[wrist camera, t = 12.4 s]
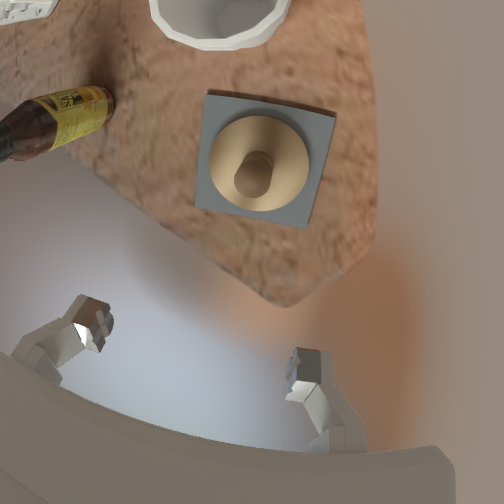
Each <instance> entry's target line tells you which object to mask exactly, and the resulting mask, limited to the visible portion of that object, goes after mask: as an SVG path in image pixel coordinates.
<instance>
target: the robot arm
mask: <svg viewBox="0 0 504 504" xmlns="http://www.w3.org/2000/svg"><path fill="white" fill-rule="evenodd" d="M58 1H59V0H0V25H7V24H11V23H16V22H21V21H26V20H31V19H38V18H44V17H47V16H49V15H50V14H51V12H52V11H53V9H54V8H55V6H56V4H57V3H58ZM110 309H111V308H110V305H109V304H108V303H105V302H102V301H99V300H96V299H94V298H91V297H88V296H85V295H82V294H80V295H79V296H77V298H76V299H75V301H74V302H73V303H72V305H71V306H70V308H69V309H68V310H67V312H66V313H65V315H64V316H63V318H58V319H56V320H54V321H52V322H50V323H48V324H46V325H44V326H42V327H41V328H38V329H36V330H35V331H33V332H31V333H29V334H27V335H25V336H23V337H22V339H21V340H20V342H19V343H18V345H17V346H16V348H15V349H14V351H13V353H12V354H11V356H9V355H8V354H6V353H5V352H3V351H2V350H0V504H455V502H456V484H455V471H454V466H453V464H452V463H451V461H450V460H449V459H448V458H447V456H446V455H445V454H444V453H443V452H442V451H441V450H440V449H439V448H438V447H437V446H434V445H430V446H423V447H416V448H409V449H401V450H392V451H381V452H367V449H366V448H367V447H366V430H365V424H364V423H363V421H362V420H361V419H360V417H359V416H358V414H357V413H356V412H355V410H354V409H353V407H352V406H351V405H350V403H349V402H348V400H347V399H346V398H345V396H344V395H343V393H342V392H341V391H340V389H339V388H338V386H335V385H334V381H333V363H332V354H331V352H327V351H319V350H315V349H306V348H299V347H296V348H295V349H294V351H293V357H290V359H289V362H288V365H287V370H286V379H287V380H288V382H287V384H286V386H285V396H284V400H288V401H296V402H302V403H303V404H304V406H305V408H306V410H307V412H308V414H309V416H310V418H311V420H312V422H313V423H314V425H315V427H316V429H317V431H318V433H319V435H320V436H319V437H317V438H316V439H315V440H313V441H312V442H311V443H310V444H309V449H308V452H292V451H281V450H270V449H263V448H255V447H247V446H242V445H235V444H230V443H225V442H219V441H214V440H210V439H205V438H201V437H197V436H192V435H188V434H184V433H181V432H177V431H173V430H170V429H166V428H163V427H160V426H156V425H153V424H150V423H147V422H144V421H141V420H138V419H135V418H133V417H130V416H127V415H124V414H122V413H119V412H117V411H114V410H112V409H109V408H107V407H104V406H102V405H100V404H97V403H95V402H92V401H90V400H88V399H86V398H84V397H82V396H80V395H77V394H75V393H73V392H71V391H69V390H67V389H65V388H63V387H61V386H59V385H60V383H61V381H62V376H61V374H60V373H59V371H58V370H57V368H59V367H60V366H61V365H63V364H64V363H66V362H67V361H68V360H70V359H71V358H73V357H74V356H75V355H77V354H78V353H79V352H81V351H82V350H84V349H85V348H87V349H89V350H92V351H95V352H98V353H100V352H101V350H102V348H103V346H104V344H105V337H107V336H109V335H110V333H111V331H112V329H113V325H114V319H113V316H112V314H110V312H109V311H110Z"/></svg>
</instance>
